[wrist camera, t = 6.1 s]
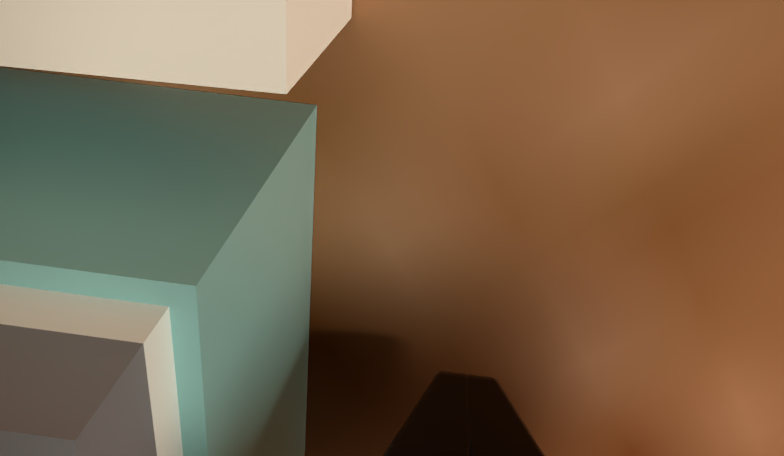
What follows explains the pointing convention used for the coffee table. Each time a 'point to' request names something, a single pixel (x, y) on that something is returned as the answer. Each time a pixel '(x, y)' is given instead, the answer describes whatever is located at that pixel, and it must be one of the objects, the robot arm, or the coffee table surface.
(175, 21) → the cream flat base plank
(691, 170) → the coffee table surface
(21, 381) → the cabinet
